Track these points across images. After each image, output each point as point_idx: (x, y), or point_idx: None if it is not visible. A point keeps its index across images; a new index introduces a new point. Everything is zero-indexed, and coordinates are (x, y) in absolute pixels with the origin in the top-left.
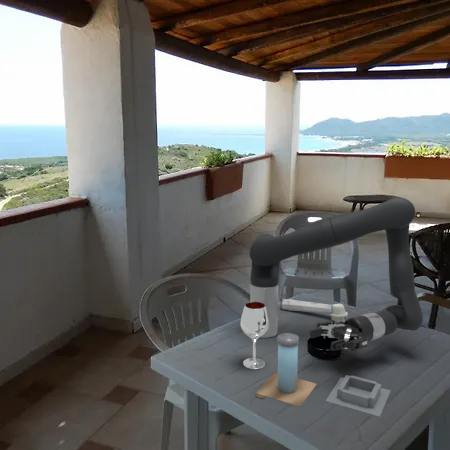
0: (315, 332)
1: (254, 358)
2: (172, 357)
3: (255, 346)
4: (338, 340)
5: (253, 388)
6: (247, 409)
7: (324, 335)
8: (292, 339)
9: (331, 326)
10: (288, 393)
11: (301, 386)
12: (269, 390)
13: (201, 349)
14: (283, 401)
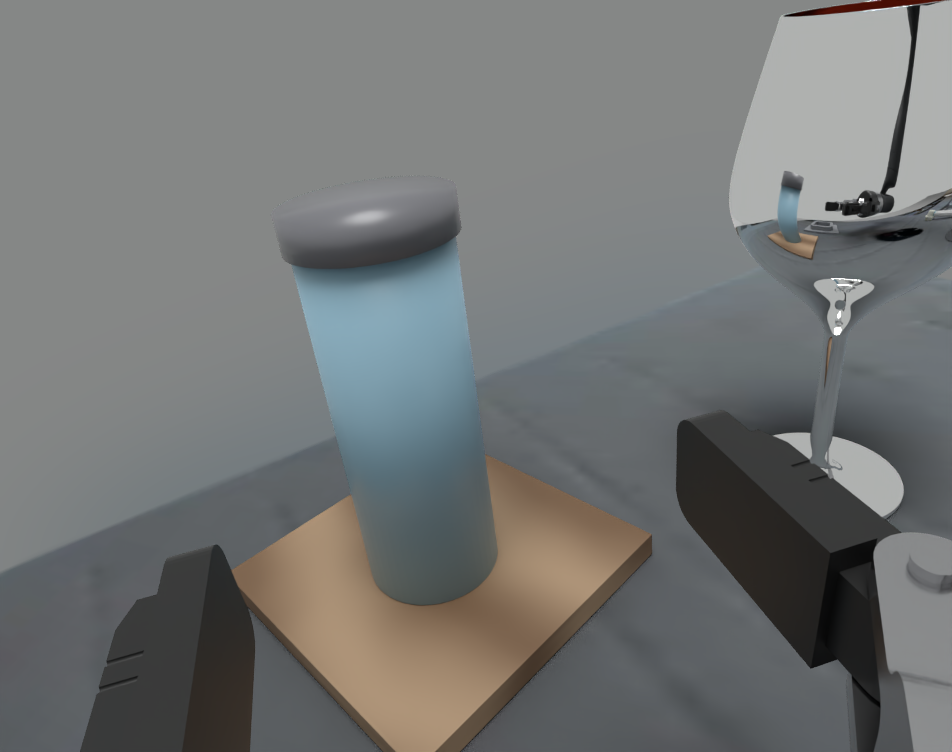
0: (726, 495)
1: (809, 442)
2: None
3: (826, 369)
4: (184, 661)
5: (521, 451)
6: None
7: (851, 740)
8: (312, 208)
9: (908, 733)
10: None
11: (420, 638)
12: None
13: (942, 323)
14: (318, 515)
